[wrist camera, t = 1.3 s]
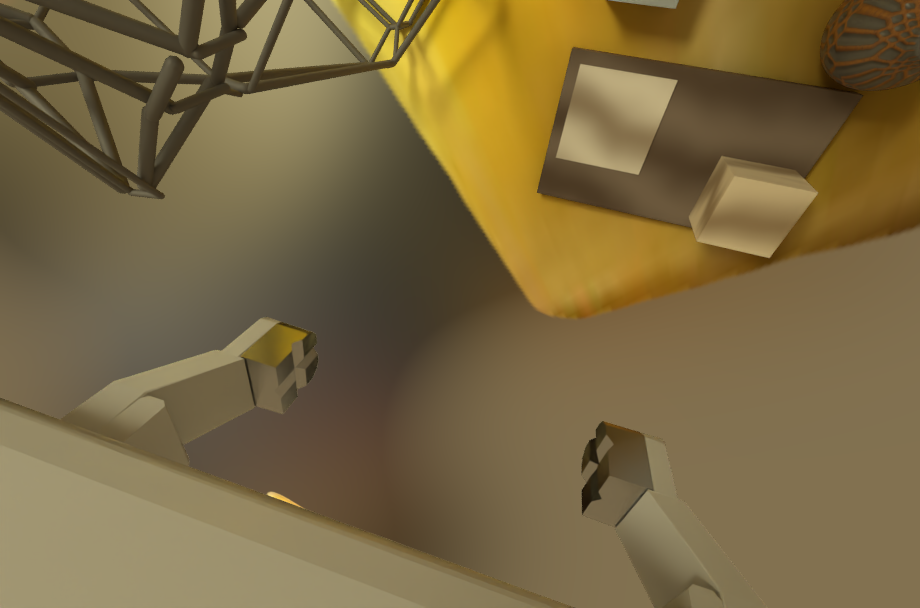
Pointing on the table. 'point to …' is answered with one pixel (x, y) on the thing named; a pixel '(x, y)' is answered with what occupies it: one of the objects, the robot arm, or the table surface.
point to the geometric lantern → (160, 77)
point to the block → (749, 206)
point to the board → (676, 131)
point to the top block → (653, 2)
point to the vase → (873, 44)
